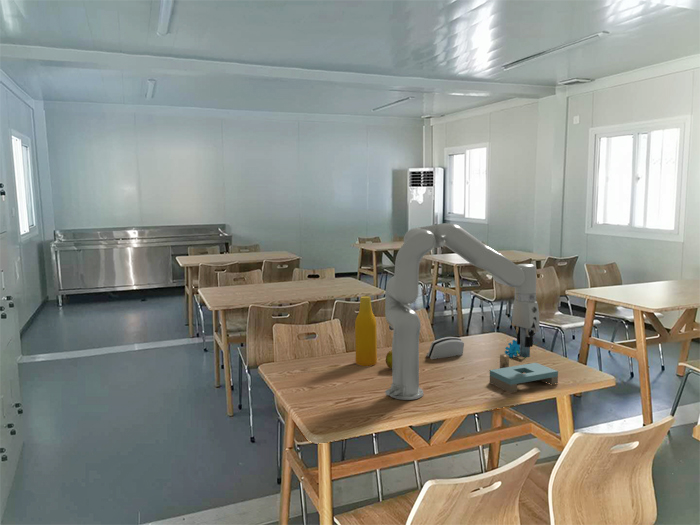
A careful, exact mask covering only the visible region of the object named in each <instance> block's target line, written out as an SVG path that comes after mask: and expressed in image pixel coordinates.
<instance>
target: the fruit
mask: <svg viewBox="0 0 700 525" xmlns="http://www.w3.org/2000/svg"><path fill="white" fill-rule="evenodd" d="M385 364H386V366H387V368H389V369H391V370H392V349H391V350H389V351H388V352H387V354H386V357H385Z"/></svg>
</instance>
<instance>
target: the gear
mask: <svg viewBox="0 0 700 525" xmlns="http://www.w3.org/2000/svg"><path fill="white" fill-rule="evenodd" d="M504 354H506V355H509V358H511V359H512V358H513V357H514V358H515V357H517V356H518V355H519V356H520V345H518V344H517V340H516V339H512V343H511V342H508V346H506V347H505V351H504ZM523 358H524V359H525V358H526V359H527V357H523Z"/></svg>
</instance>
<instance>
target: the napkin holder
mask: <svg viewBox="0 0 700 525" xmlns="http://www.w3.org/2000/svg"><path fill="white" fill-rule="evenodd" d="M464 347H465V343H464V341H463V340H462V339H461V338H459V337H456V336H446V337H442V338H438V339H436V340H433V341H432V342H431V344H430V347H429V350H428V352H427V353H426V355H425V357H427V358H428V357H429V359H431V360H436V359H437V358H438V359H443V358H450V356H451V357H456V355H458V356H463V355H464ZM462 354H463V355H462ZM438 359H437V360H438Z"/></svg>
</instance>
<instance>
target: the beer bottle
mask: <svg viewBox="0 0 700 525" xmlns="http://www.w3.org/2000/svg"><path fill="white" fill-rule="evenodd" d="M359 299H360V300H359V310H358V314H357V316H356V318H355V323H354V328H355V329H354V332H355V334H354V335H355V339H354V340H355V344H354V345H355V364H356V365H357V364H358V365H357V366H359V365H361V366H360V367H372V366H371V365H373V366H375V365H376V364H378V348H377V347H378V346H377V345H378V344H377V343H378V341H377V319H376V316H375V314H374V312H373V308H372V300H371V299H372V298H371V296H368V295H367V296H366V295H365V296H360V298H359Z"/></svg>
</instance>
